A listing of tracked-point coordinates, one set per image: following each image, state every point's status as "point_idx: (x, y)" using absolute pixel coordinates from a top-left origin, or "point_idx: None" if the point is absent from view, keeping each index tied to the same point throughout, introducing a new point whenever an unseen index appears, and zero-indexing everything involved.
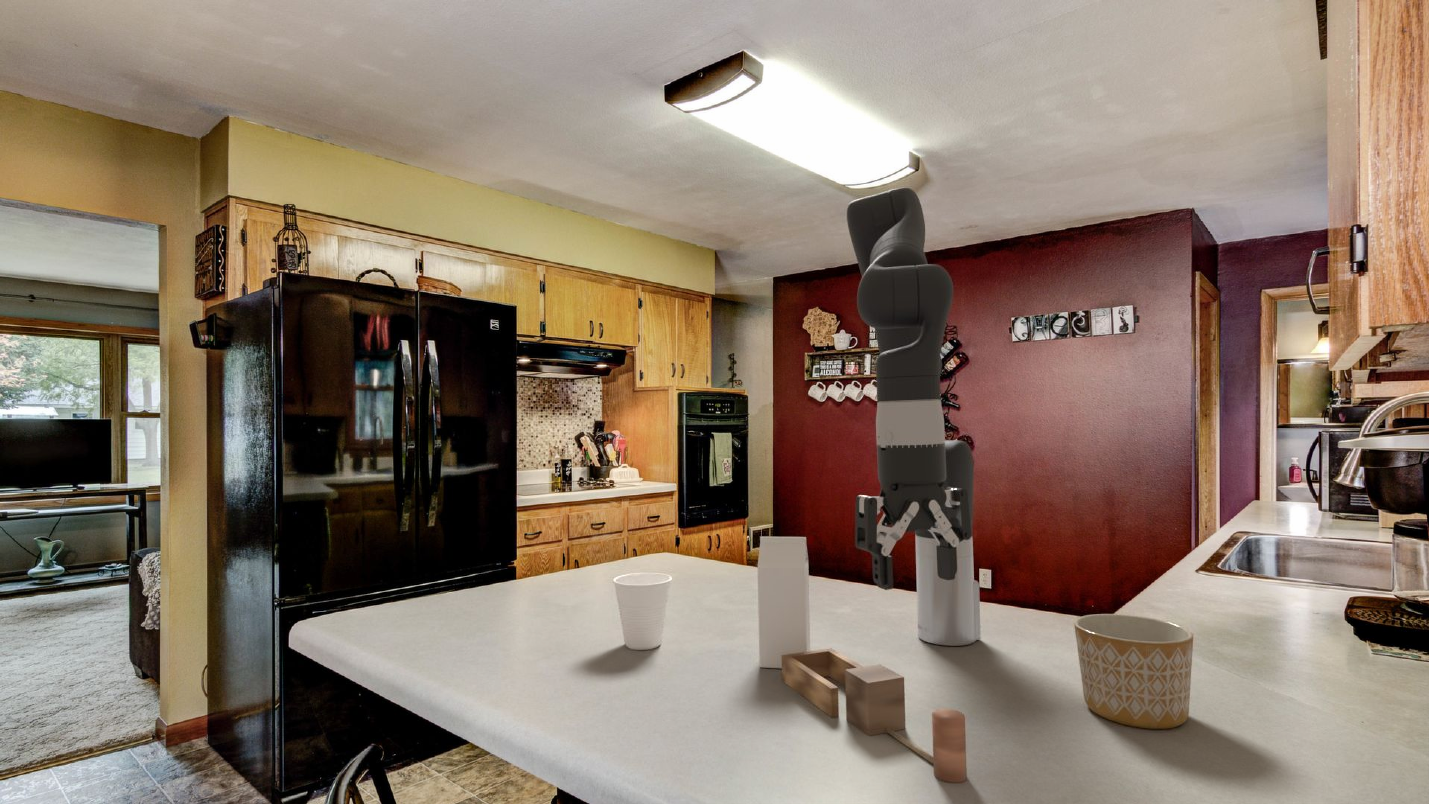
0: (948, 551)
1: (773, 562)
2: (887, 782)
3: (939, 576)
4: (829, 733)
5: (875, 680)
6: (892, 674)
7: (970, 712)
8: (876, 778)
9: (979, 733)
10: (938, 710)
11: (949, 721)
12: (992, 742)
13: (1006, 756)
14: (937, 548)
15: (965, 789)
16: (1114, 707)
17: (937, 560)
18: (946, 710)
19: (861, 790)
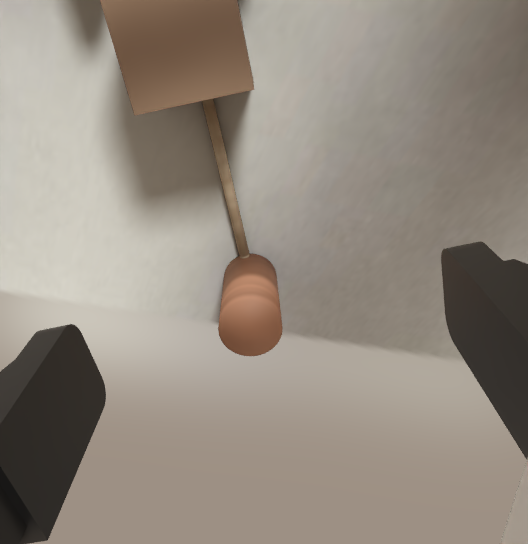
0: (520, 438)
1: None
2: (138, 281)
3: (443, 258)
4: (72, 68)
5: (162, 100)
6: (228, 60)
7: (451, 16)
8: (124, 266)
9: (396, 135)
10: (241, 307)
11: (238, 353)
12: (395, 179)
13: (382, 235)
14: (520, 344)
15: None
16: None
17: (481, 288)
18: (258, 309)
19: (90, 296)
